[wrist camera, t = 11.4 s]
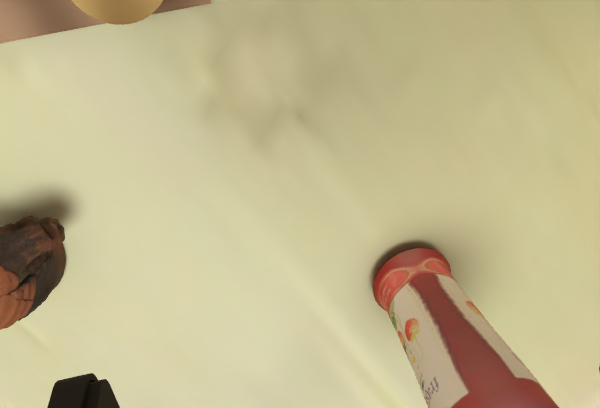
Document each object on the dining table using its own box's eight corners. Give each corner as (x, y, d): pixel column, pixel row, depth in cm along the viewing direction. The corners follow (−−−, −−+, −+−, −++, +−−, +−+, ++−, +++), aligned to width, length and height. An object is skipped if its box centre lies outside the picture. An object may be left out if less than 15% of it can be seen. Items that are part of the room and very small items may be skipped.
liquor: (359, 252, 46) (555, 641, 22) (442, 226, 46) (728, 582, 22) (373, 317, 50) (555, 711, 25) (450, 292, 50) (702, 659, 26)
